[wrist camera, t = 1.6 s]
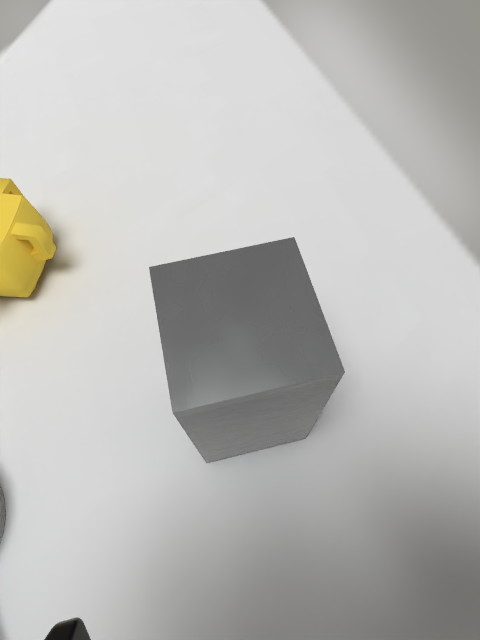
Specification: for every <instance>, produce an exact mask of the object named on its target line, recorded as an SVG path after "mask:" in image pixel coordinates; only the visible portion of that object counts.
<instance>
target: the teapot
mask: <svg viewBox="0 0 480 640" xmlns="http://www.w3.org/2000/svg"><path fill="white" fill-rule="evenodd" d="M56 248H57V247H56V245H55V244H54V243H53V234H52V231H51V229H50V227H49V226H48V224H47V223H46V221H45V220H44V219H43V218H42V216H41V215H40V214H39V213H38V211H37V210H36V209H35V208H34V207H33V206H32V205H31V204H30V202H29V201H28V200H27V199H26V198H25V197H24V196H23V195H22V193H21V192H20V190H19V189H18V188H17V186H16V185H15V184H14V182H13V181H12V180H11V179H4V178H0V296H9V297H29V296H30V295H31V293H32V291H34V290H35V289H36V287H37V281H38V279H39V277H40V275H41V272H42V270H43V268H44V265H45V263H46V260H48V259H51V258H53V256H54V253H55V251H56Z"/></svg>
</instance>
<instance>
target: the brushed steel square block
mask: <svg viewBox="0 0 480 640" xmlns="http://www.w3.org/2000/svg"><path fill="white" fill-rule="evenodd" d="M149 269H150V276H151V282H152V288H153V294H154V300H155V306H156V313H157V319H158V325H159V331H160V337H161V343H162V350H163V356H164V362H165V368H166V374H167V380H168V387H169V393H170V399H171V405H172V411H173V414H174V415H175V417H176V418H177V420H178V421H179V423H180V424H181V426H182V427H183V429H184V430H185V432H186V433H187V435H188V436H189V438H190V439H191V441H192V442H193V444H194V445H195V447H196V448H197V450H198V451H199V453H200V454H201V456H202V457H203V459H204V460H205V462H206V463H210V462H214V461H218V460H222V459H226V458H230V457H234V456H238V455H242V454H246V453H250V452H254V451H258V450H262V449H266V448H270V447H274V446H278V445H282V444H286V443H290V442H294V441H298V440H302V439H305V438H306V437H307V435H308V433H309V432H310V430H311V428H312V427H313V425H314V423H315V422H316V420H317V418H318V416H319V415H320V413H321V411H322V410H323V408H324V406H325V405H326V403H327V401H328V400H329V398H330V396H331V394H332V393H333V391H334V389H335V388H336V386H337V384H338V383H339V381H340V379H341V378H342V376H343V374H344V372H345V371H344V368H343V366H342V363H341V360H340V358H339V355H338V352H337V350H336V347H335V344H334V342H333V339H332V336H331V334H330V331H329V328H328V326H327V323H326V320H325V318H324V315H323V312H322V310H321V307H320V304H319V302H318V299H317V296H316V294H315V291H314V288H313V286H312V283H311V280H310V278H309V275H308V272H307V270H306V267H305V264H304V262H303V259H302V256H301V254H300V251H299V248H298V246H297V243H296V241H295V238H294V237H293V238H288V239H283V240H278V241H273V242H269V243H264V244H259V245H254V246H249V247H244V248H240V249H235V250H230V251H225V252H220V253H215V254H211V255H206V256H201V257H196V258H191V259H187V260H182V261H177V262H172V263H167V264H162V265H158V266H153V267H149Z"/></svg>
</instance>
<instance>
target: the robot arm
mask: <svg viewBox="0 0 480 640" xmlns="http://www.w3.org/2000/svg"><path fill="white" fill-rule="evenodd" d="M44 640H91V639H90V637H89V634H88V632H87V630H86V627H85V625H84V623H83V621H82V620H81V619H80V618H73V619H69V620H66V621H62V622H59V623H57V624H56V625H55V626H54V627H53V628H52V629H51V631H50V632H49V634H48V635H47V637H46V638H45V639H44Z"/></svg>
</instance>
